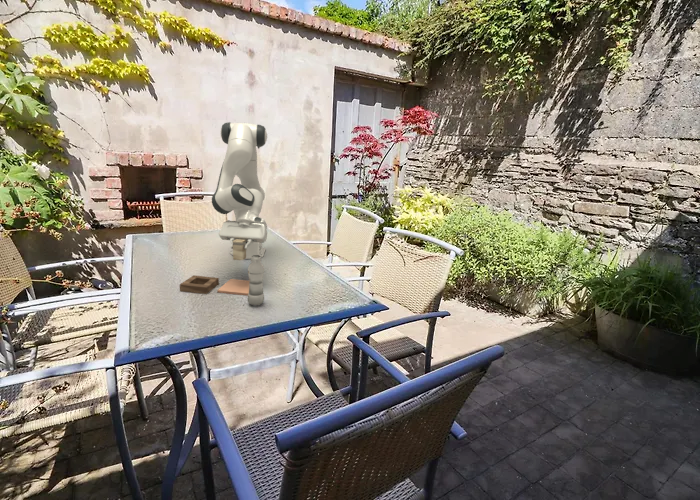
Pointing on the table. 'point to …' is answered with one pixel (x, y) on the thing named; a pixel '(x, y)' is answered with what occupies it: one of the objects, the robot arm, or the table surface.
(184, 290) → the walnut collar holder
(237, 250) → the block
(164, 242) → the table surface
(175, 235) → the table surface
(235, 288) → the terracotta tile
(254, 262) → the plastic bottle
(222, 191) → the robot arm
